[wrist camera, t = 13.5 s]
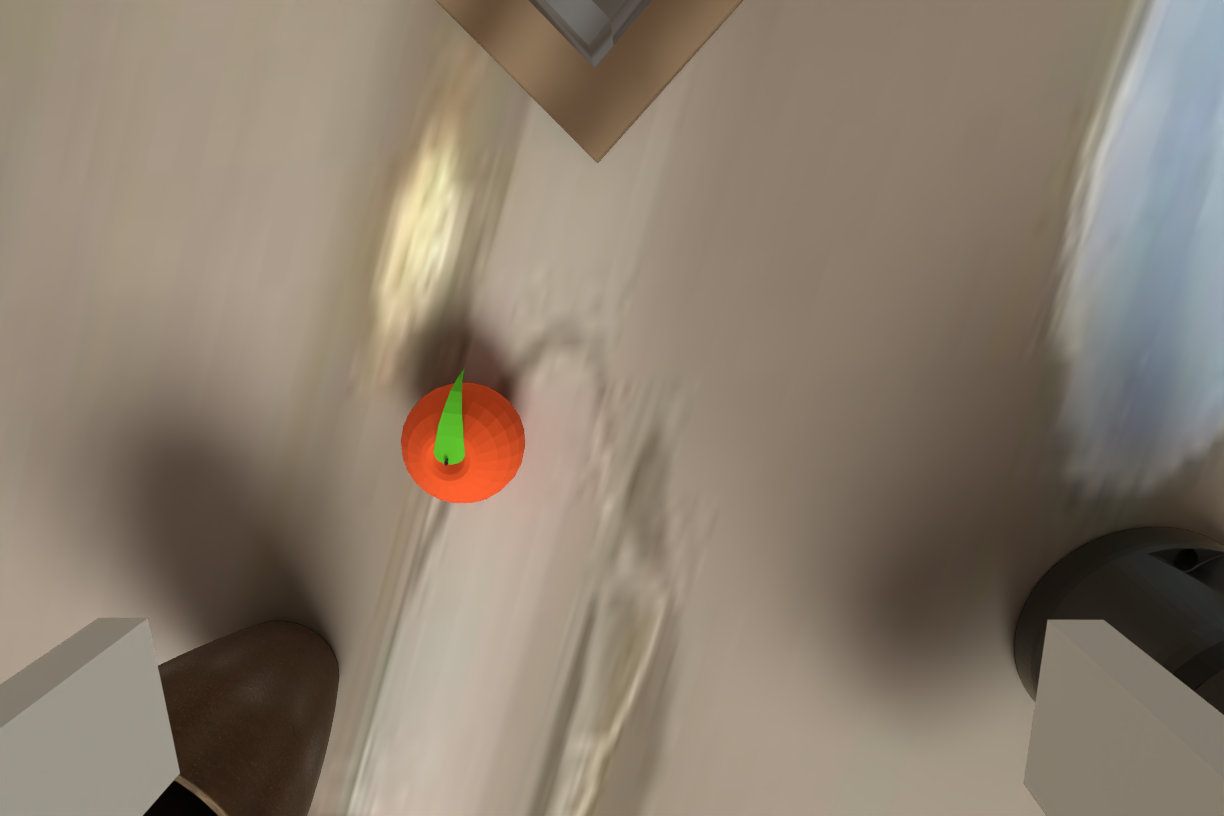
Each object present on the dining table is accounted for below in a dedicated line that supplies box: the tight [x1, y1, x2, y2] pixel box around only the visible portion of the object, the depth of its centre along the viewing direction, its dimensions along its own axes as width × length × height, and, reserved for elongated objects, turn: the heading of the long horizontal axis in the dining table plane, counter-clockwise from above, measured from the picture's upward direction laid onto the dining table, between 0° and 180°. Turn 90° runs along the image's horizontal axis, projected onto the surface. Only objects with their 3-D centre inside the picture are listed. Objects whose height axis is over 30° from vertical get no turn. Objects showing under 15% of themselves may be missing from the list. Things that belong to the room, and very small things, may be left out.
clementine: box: [401, 368, 525, 503], centre depth 37 cm, size 8×7×7 cm
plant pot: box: [143, 621, 339, 816], centre depth 38 cm, size 15×15×16 cm
